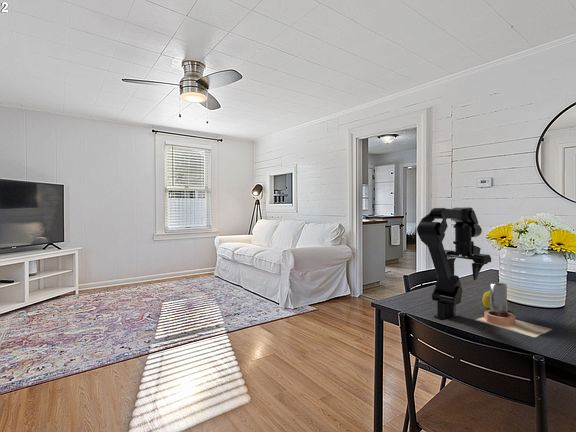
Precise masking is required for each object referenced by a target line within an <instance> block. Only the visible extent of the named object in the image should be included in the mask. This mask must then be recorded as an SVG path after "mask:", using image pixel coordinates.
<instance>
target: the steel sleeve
mask: <svg viewBox="0 0 576 432" xmlns="http://www.w3.org/2000/svg"><path fill="white" fill-rule="evenodd" d="M507 286H508V285H507V283H504V282H490V283H489V291H490V309H489V310H490V312H491V315H494V316H498V317H507V312H508V291H507V289H508V287H507Z"/></svg>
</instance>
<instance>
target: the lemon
mask: <svg viewBox="0 0 576 432" xmlns="http://www.w3.org/2000/svg"><path fill="white" fill-rule="evenodd" d="M481 302H482V304H483V306H484V307H485V308H487V309H488V310H490V290H488V291H486V292H484V293H483V295H482V301H481Z"/></svg>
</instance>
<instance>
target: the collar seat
mask: <svg viewBox="0 0 576 432" xmlns="http://www.w3.org/2000/svg"><path fill="white" fill-rule="evenodd" d="M483 317H484V319H485V320H486V321H487V322H490V323H494V324H497V325H508V326H510V325H513V324H515V319H516V315H514V314H513V313H512V312H508V311H507V317H498V316H494V315H491V312H490V309H488V310H485V311H484V312H483Z"/></svg>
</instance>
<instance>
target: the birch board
mask: <svg viewBox="0 0 576 432" xmlns="http://www.w3.org/2000/svg"><path fill="white" fill-rule="evenodd" d="M475 321H477V322H481V323H483V324H487V325H491V326H494V327H498V328H501V329H504V330H508V331H511V332H514V333H517V334H520V335H525V336H528V337H532V338H537V337H539V336H541V335H544V334H547V333H548V332H551V331H553V328H549V327H546V326H541V325H538V324H534V323H529V322H526V321H522V320H519V319H516V318H515V324H513V325H510V326H508V325H497V324H494V323H490V322H487V321H486V320H485V319H484V316H482V317H478V318H476V319H475Z"/></svg>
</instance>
